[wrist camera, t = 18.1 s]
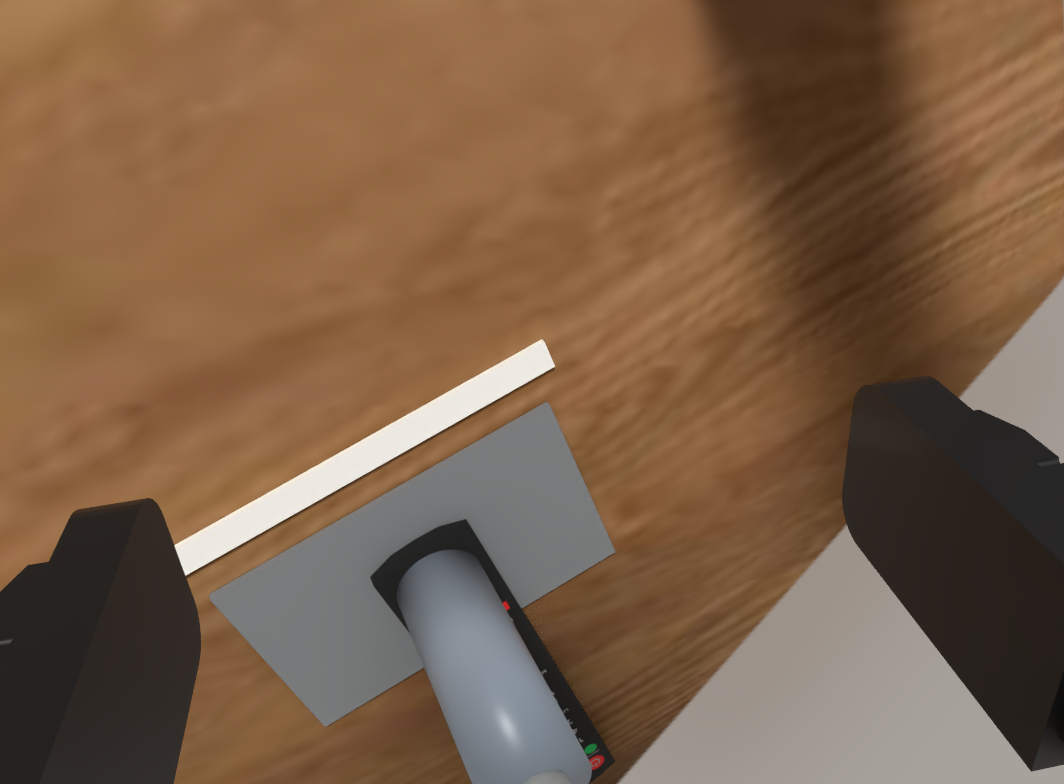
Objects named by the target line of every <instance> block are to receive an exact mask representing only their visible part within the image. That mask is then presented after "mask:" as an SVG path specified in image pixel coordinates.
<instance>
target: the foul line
mask: <svg viewBox="0 0 1064 784" xmlns="http://www.w3.org/2000/svg"><path fill="white" fill-rule="evenodd" d="M553 367H555V365H554V363H553V361H552V358H551V356H550V354H549V351H548V349H547V347H546V344H545V342H544V341H543V340H542V339H541V340H540V341H538V342H536V343H534V344H532V345H531V346H529V347H527V348H525V349H523V350H522V351H520V352H518V353H516V354H515V355H513V356H511V357H509V358H507V359H506V360H504V361H502V362H500V363H499V364H497V365H495V366H493V367H491V368H490V369H488V370H486V371H484V372H482V373H481V374H479V375H477V376H475V377H474V378H472V379H470V380H468V381H466V382H465V383H463V384H461V385H459V386H457V387H456V388H454V389H452V390H450V391H449V392H447V393H445V394H443V395H441V396H440V397H438V398H436V399H434V400H433V401H431V402H429V403H427V404H425V405H424V406H422V407H420V408H418V409H416V410H415V411H413V412H411V413H409V414H408V415H406V416H404V417H402V418H400V419H399V420H397V421H395V422H393V423H391V424H390V425H388V426H386V427H384V428H383V429H381V430H379V431H377V432H375V433H374V434H372V435H370V436H368V437H367V438H365V439H363V440H361V441H359V442H358V443H356V444H354V445H352V446H350V447H349V448H347V449H345V450H343V451H342V452H340V453H338V454H336V455H334V456H333V457H331V458H329V459H327V460H325V461H324V462H322V463H320V464H318V465H317V466H315V467H313V468H311V469H309V470H308V471H306V472H304V473H302V474H301V475H299V476H297V477H295V478H293V479H292V480H290V481H288V482H286V483H284V484H283V485H281V486H279V487H277V488H276V489H274V490H272V491H270V492H268V493H267V494H265V495H263V496H261V497H259V498H258V499H256V500H254V501H252V502H251V503H249V504H247V505H245V506H243V507H242V508H240V509H238V510H236V511H235V512H233V513H231V514H229V515H227V516H226V517H224V518H222V519H220V520H218V521H217V522H215V523H213V524H211V525H210V526H208V527H206V528H204V529H202V530H201V531H199V532H197V533H195V534H193V535H192V536H190V537H188V538H186V539H185V540H183V541H181V542H179V543H177V544H176V545H174V546H175V549H176V552H177V554H178V557H179V560H180V563H181V565H182V568H183V571H184V573H185V576H186V575H188V574H190V573H191V572H193V571H195V570H197V569H198V568H200V567H202V566H204V565H205V564H207V563H209V562H211V561H213V560H214V559H216V558H218V557H220V556H221V555H223V554H225V553H227V552H228V551H230V550H232V549H234V548H235V547H237V546H239V545H241V544H243V543H244V542H246V541H248V540H250V539H251V538H253V537H255V536H257V535H258V534H260V533H262V532H264V531H265V530H267V529H269V528H271V527H273V526H274V525H276V524H278V523H280V522H281V521H283V520H285V519H287V518H288V517H290V516H292V515H294V514H296V513H297V512H299V511H301V510H303V509H304V508H306V507H308V506H310V505H311V504H313V503H315V502H317V501H318V500H320V499H322V498H324V497H326V496H327V495H329V494H331V493H333V492H334V491H336V490H338V489H340V488H341V487H343V486H345V485H347V484H348V483H350V482H352V481H354V480H356V479H357V478H359V477H361V476H363V475H364V474H366V473H368V472H370V471H371V470H373V469H375V468H377V467H378V466H380V465H382V464H384V463H386V462H387V461H389V460H391V459H393V458H394V457H396V456H398V455H400V454H401V453H403V452H405V451H407V450H409V449H410V448H412V447H414V446H416V445H417V444H419V443H421V442H423V441H424V440H426V439H428V438H430V437H431V436H433V435H435V434H437V433H439V432H440V431H442V430H444V429H446V428H447V427H449V426H451V425H453V424H454V423H456V422H458V421H460V420H461V419H463V418H465V417H467V416H469V415H470V414H472V413H474V412H476V411H477V410H479V409H481V408H483V407H484V406H486V405H488V404H490V403H491V402H493V401H495V400H497V399H499V398H500V397H502V396H504V395H506V394H507V393H509V392H511V391H513V390H514V389H516V388H518V387H520V386H522V385H523V384H525V383H527V382H529V381H530V380H532V379H534V378H536V377H537V376H539V375H541V374H543V373H544V372H546V371H548V370H550V369H552V368H553Z"/></svg>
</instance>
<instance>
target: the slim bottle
mask: <svg viewBox="0 0 1064 784" xmlns="http://www.w3.org/2000/svg"><path fill="white" fill-rule="evenodd" d="M397 602H398V605H399V607H400V610H401V612H402V615H403V617H404V620H405V622H406V624H407V627H408V629H409V632H410V634H411V637H412V639H413V641H414V644H415V646H416V649H417V651H418V654H419V656H420V658H421V661H422V663H423V666H424V668H425V671H426V673H427V675H428V678H429V680H430V683H431V685H432V688H433V690H434V692H435V695H436V697H437V700H438V702H439V705H440V707H441V709H442V712H443V714H444V717H445V719H446V722H447V724H448V726H449V729H450V731H451V734H452V736H453V739H454V741H455V743H456V746H457V748H458V751H459V753H460V756H461V758H462V760H463V763H464V765H465V768H466V770H467V773H468V775H469V777H470V780H471V782H472V784H589V782H590V779H591V774H592V767H591V763H590V761H589V759H588V758H587V756H586V754H585V752H584V750H583V749H582V747H581V745H580V743H579V741H578V739H577V738H576V736H575V734H574V732H573V730H572V729H571V727H570V725H569V723H568V721H567V720H566V718H565V716H564V714H563V712H562V710H561V709H560V707H559V705H558V703H557V701H556V700H555V698H554V696H553V694H552V692H551V690H550V689H549V687H548V685H547V683H546V681H545V680H544V678H543V676H542V674H541V672H540V671H539V669H538V667H537V665H536V663H535V661H534V660H533V658H532V656H531V654H530V652H529V651H528V649H527V647H526V645H525V643H524V641H523V640H522V638H521V636H520V634H519V632H518V631H517V629H516V627H515V625H514V623H513V622H512V620H511V618H510V616H509V614H508V612H507V611H506V609H505V607H504V605H503V603H502V602H501V600H500V598H499V596H498V594H497V593H496V591H495V589H494V587H493V585H492V583H491V582H490V580H489V578H488V576H487V574H486V573H485V571H484V569H483V567H482V565H481V564H480V562H479V560H478V559H477V558H476V557H475V556H474V555H472V554H471V553H469V552H466V551H463V550H456V549H450V550H442V551H438V552H435V553H432V554H430V555H428V556H426V557H424V558H422V559H420V560H419V561H418V562H416V563H415V564H414V565H413V566H412V567H410V568H409V570H408V571H407V572H406V573H405V574H404V576H403V577H402V579H401V581H400V583H399V586H398V589H397Z"/></svg>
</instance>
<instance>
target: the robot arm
mask: <svg viewBox="0 0 1064 784" xmlns="http://www.w3.org/2000/svg"><path fill="white" fill-rule="evenodd" d="M842 501H843V510H844V515H845V519H846V523H847V526H848V529H849V531H850V533H851V535H852V537H853V539H854V541H855V543H856V544H857V545H858V547H859V548H860V549H861V551H862V552H863V553H864V554H865V556H866V557H867V559H868V560H869V561H870V563H871V564H872V565H873V566H874V568H875V569H876V570H877V572H878V573H879V574H880V576H881V577H882V578H883V579H884V581H885V582H886V583H887V585H888V586H889V587H890V589H891V590H892V591H893V592H894V594H895V595H896V596H897V598H898V599H899V600H900V602H901V603H902V604H903V605H904V607H905V608H906V609H907V611H908V612H909V613H910V615H911V616H912V617H913V618H914V620H915V621H916V622H917V623H918V625H919V626H920V627H921V629H922V630H923V631H924V633H925V634H926V635H927V637H928V638H929V639H930V640H931V642H932V643H933V644H934V646H935V647H936V648H937V650H938V651H939V652H940V653H941V655H942V656H943V657H944V659H945V660H946V661H947V663H948V664H949V665H950V666H951V668H952V669H953V670H954V672H955V673H956V674H957V676H958V677H959V678H960V679H961V681H962V682H963V683H964V685H965V686H966V687H967V688H968V690H969V691H970V692H971V694H972V695H973V696H974V698H975V699H976V700H977V701H978V703H979V704H980V705H981V707H982V708H983V709H984V711H985V712H986V713H987V714H988V716H989V717H990V718H991V720H992V721H993V722H994V724H995V725H996V726H997V728H998V729H999V730H1000V731H1001V733H1002V734H1003V735H1004V737H1005V738H1006V739H1007V741H1008V742H1009V743H1010V744H1011V746H1012V747H1013V748H1014V749H1015V751H1016V752H1017V754H1018V755H1019V756H1020V757H1021V759H1022V760H1023V761H1024V763H1025V764H1026V765H1027V767H1028V768H1029V769H1030V770H1031V771H1035V770H1040V769H1044V768H1049V767H1054V766H1058V765H1064V463H1062V464H1060V462H1059V457H1058V456H1057V455H1055V454H1054V453H1053V452H1051V451H1050V450H1049V449H1048V448H1047V447H1045V446H1044V445H1043V444H1042V443H1040V442H1039V441H1038V440H1036V439H1035V438H1034V437H1033V436H1032V435H1030V434H1029V433H1028V432H1026V431H1025V430H1023V429H1021V428H1019V427H1016V426H1014V425H1012V424H1010V423H1008V422H1005V421H1003V420H1001V419H999V418H996V417H994V416H992V415H990V414H987V413H985V412H983V411H981V410H975V411H973V410H972V409H971V408H970V407H968V406H967V405H966V404H965V403H964V402H962V401H961V400H960V399H959V398H958V397H956V396H955V395H954V394H953V393H952V392H950V391H949V390H948V389H947V388H946V387H944V386H943V385H942V384H941V383H940V382H938V381H937V380H936V379H934V378H932V377H929V376H921V377H914V378H908V379H902V380H896V381H889V382H883V383H877V384H871V385H865V386H863V387H861V388H860V390H859V391H858V392H857V394H856V396H855V399H854V404H853V410H852V419H851V427H850V435H849V443H848V451H847V459H846V467H845V475H844V484H843V493H842ZM200 652H201V633H200V623H199V617H198V612H197V608H196V604H195V601H194V598H193V595H192V593H191V590H190V587H189V584H188V582H187V579H186V576H185V573H184V571H183V568H182V565H181V563H180V560H179V557H178V554H177V552H176V549H175V546H174V543H173V541H172V538H171V535H170V532H169V530H168V527H167V524H166V522H165V519H164V516H163V514H162V511H161V509H160V508H159V506H158V504H157V503H156V502H155V501H154V500H153V499H150V498H147V499H140V500H134V501H128V502H122V503H115V504H109V505H103V506H97V507H90V508H84V509H78V510H76V511H75V512H74V513H73V514H72V515H71V517H70V518H69V520H68V522H67V524H66V527H65V529H64V531H63V533H62V535H61V537H60V539H59V541H58V543H57V546H56V548H55V550H54V552H53V554H52V556H51V558H50V560H49V562H45V563H39V564H33V565H28V566H27V567H25V568H24V569H23V570H22V571H21V572H20V573H19V574H18V575H17V576H16V577H15V578H14V579H13V580H12V581H11V582H10V583H9V584H8V585H7V586H6V587H5V588H4V589H3V590H2V591H1V592H0V784H173V783H174V779H175V774H176V769H177V765H178V760H179V755H180V750H181V746H182V741H183V736H184V732H185V727H186V722H187V717H188V713H189V708H190V703H191V699H192V694H193V689H194V684H195V680H196V675H197V670H198V666H199V660H200Z"/></svg>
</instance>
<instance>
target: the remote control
mask: <svg viewBox="0 0 1064 784" xmlns="http://www.w3.org/2000/svg"><path fill="white" fill-rule="evenodd" d="M450 549H456V550H463V551H466V552H469V553H471V554H472V555H474V556H475V557H476V558H477V559H478V560H479V562H480V564H481V565H482V567H483V569H484V571H485V573H486V574H487V576H488V578H489V580H490V582H491V583H492V585H493V587H494V589H495V591H496V593H497V594H498V596H499V598H500V600H501V602H502V603H503V605H504V607H505V609H506V611H507V612H508V614H509V616H510V618H511V620H512V622H513V623H514V625H515V627H516V629H517V631H518V632H519V634H520V636H521V638H522V640H523V641H524V643H525V645H526V647H527V649H528V651H529V652H530V654H531V656H532V658H533V660H534V661H535V663H536V665H537V667H538V669H539V671H540V672H541V674H542V676H543V678H544V680H545V681H546V683H547V685H548V687H549V689H550V690H551V692H552V694H553V696H554V698H555V700H556V701H557V703H558V705H559V707H560V709H561V710H562V712H563V714H564V716H565V718H566V720H567V721H568V723H569V725H570V727H571V729H572V730H573V732H574V734H575V736H576V738H577V739H578V741H579V743H580V745H581V747H582V749H583V750H584V752H585V754H586V756H587V758H588V759H589V761H590V763H591V767H592V774H591V779H590V782H589V783H591V782H592V781H593V780H595V779H596V778H597V777H599V776H600V775H601V774H602V773H603V772H604V771H605V770H606V769H607V768H608V767H609V766H611V765H612V764H613V763H614V762H615V760H614V759H613V757H612V755H611V753H610V752H609V750H608V748H607V747H606V745H605V744H604V742H603V740H602V739H601V737H600V735H599V734H598V732H597V731H596V729H595V727H594V726H593V724H592V722H591V721H590V719H589V718H588V716H587V714H586V713H585V711H584V709H583V708H582V706H581V705H580V703H579V701H578V700H577V698H576V696H575V695H574V693H573V692H572V690H571V688H570V687H569V685H568V684H567V682H566V680H565V679H564V677H563V675H562V674H561V672H560V671H559V669H558V667H557V666H556V664H555V662H554V661H553V659H552V658H551V656H550V654H549V653H548V651H547V649H546V648H545V646H544V645H543V643H542V641H541V640H540V638H539V636H538V635H537V633H536V632H535V630H534V628H533V627H532V625H531V624H530V622H529V620H528V619H527V617H526V615H525V614H524V612H523V611H522V609H521V607H520V606H519V604H518V602H517V601H516V599H515V598H514V596H513V594H512V593H511V591H510V589H509V588H508V586H507V585H506V583H505V581H504V580H503V578H502V576H501V575H500V573H499V572H498V570H497V568H496V567H495V565H494V564H493V562H492V560H491V559H490V557H489V555H488V554H487V552H486V551H485V549H484V547H483V546H482V544H481V542H480V541H479V539H478V538H477V536H476V534H475V533H474V531H473V529H472V528H471V526H470V525H469V523H468V521H467V520H466V519H464V520H460V521H457V522H453V523H449V524H446V525H442V526H438V527H437V528H435V529H433V530H431V531H429V532H428V533H426V534H424V535H422V536H420V537H418V538H417V539H415V540H413V541H412V542H410V543H409V544H407V545H406V546H404V547H403V548H401V549H400V550H398V551H397V552H395V553H393V554H392V555H391V556H390V557H389V558H388V559H387V560H386V561H385V562H384V563H383V564H382V565H381V566H380V567H379V568H378V569H377V570H376V571H375V572H374V573H373V574H372V575H371V576H370V578H371V581H372V584H373V586H374V588H375V589H376V590H377V592H378V593H379V594H380V595H381V597H382V598H383V599H384V601H385V602H386V603H387V605H388V606H389V607H390V608H391V610H392V611H393V612H394V614H395V615H396V616H397V618H398V619H399V620H400V621H401V623H402V624H403V625H404V627H405V628H406V629H407V631H408V632H409V629H408V627H407V624H406V622H405V620H404V617H403V615H402V612H401V610H400V607H399V605H398V602H397V589H398V586H399V583H400V581H401V579H402V577H403V576H404V574H405V573H406V572H407V571H408V570H409V568H410V567H412V566H413V565H414V564H415V563H416V562H418V561H419V560H420V559H422V558H424V557H426V556H428V555H430V554H432V553H435V552H438V551H442V550H450ZM409 633H410V632H409Z"/></svg>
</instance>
